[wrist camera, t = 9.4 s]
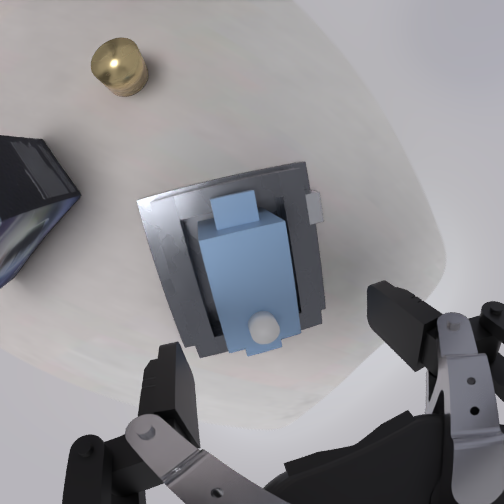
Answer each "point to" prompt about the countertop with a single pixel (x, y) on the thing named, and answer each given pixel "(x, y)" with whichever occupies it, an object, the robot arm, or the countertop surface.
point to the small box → (29, 199)
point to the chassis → (190, 257)
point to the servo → (249, 273)
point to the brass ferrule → (120, 67)
